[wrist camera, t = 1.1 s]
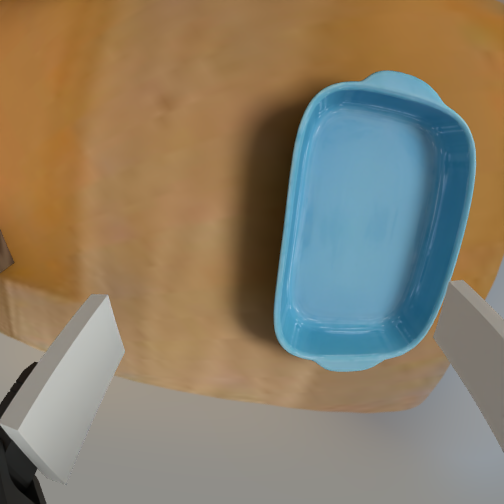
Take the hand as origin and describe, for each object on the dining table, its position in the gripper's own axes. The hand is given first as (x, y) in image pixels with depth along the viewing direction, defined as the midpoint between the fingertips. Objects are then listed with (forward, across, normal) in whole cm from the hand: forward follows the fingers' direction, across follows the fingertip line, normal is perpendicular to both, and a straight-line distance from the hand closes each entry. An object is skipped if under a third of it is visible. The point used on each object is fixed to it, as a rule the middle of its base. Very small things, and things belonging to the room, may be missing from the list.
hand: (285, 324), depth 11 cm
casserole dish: (+28, +13, -5) cm, 31 cm away
